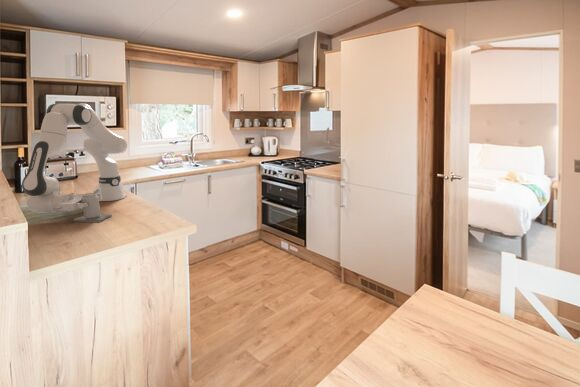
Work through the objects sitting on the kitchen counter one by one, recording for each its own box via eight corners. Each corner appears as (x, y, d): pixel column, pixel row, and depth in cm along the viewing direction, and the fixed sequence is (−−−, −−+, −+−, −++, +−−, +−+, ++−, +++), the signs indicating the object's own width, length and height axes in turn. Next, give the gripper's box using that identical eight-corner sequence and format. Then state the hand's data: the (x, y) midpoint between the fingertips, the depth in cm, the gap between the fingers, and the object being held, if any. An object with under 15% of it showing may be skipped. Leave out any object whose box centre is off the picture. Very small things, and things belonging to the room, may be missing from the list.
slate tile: (73, 221, 175) (73, 219, 175) (86, 216, 185) (86, 214, 185) (99, 222, 174) (99, 220, 174) (112, 216, 184) (111, 214, 183)
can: (84, 220, 174) (81, 196, 171) (83, 216, 180) (80, 193, 178) (101, 217, 178) (98, 194, 175) (100, 214, 184) (96, 191, 182)
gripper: (50, 201, 166) (81, 200, 167) (73, 192, 186) (100, 191, 187) (52, 214, 167) (83, 213, 168) (75, 204, 187) (102, 203, 188)
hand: (92, 202), depth 178 cm, fingers open, 8 cm apart
